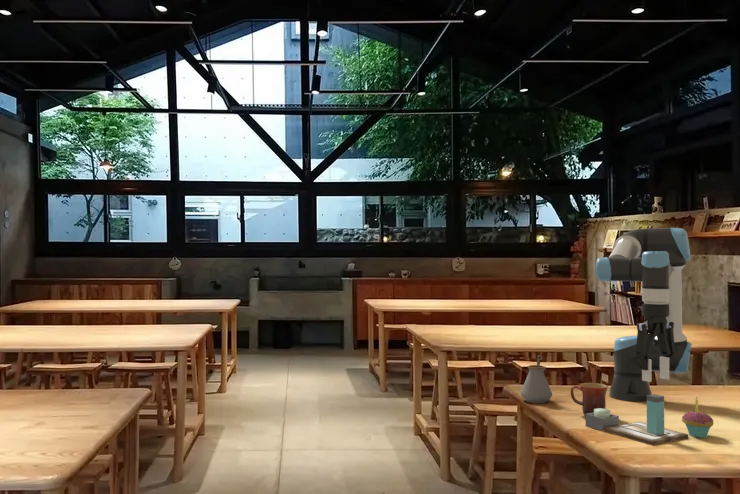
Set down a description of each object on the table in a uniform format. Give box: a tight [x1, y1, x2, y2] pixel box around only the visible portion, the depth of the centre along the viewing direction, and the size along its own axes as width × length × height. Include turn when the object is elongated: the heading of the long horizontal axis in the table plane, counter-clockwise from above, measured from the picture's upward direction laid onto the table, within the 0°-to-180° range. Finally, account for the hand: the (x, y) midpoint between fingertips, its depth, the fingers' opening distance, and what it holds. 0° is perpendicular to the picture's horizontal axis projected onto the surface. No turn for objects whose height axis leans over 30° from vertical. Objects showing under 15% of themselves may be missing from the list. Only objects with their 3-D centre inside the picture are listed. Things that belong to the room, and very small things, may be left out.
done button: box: [594, 408, 611, 418], centre depth 206 cm, size 5×5×4 cm
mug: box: [570, 382, 608, 417], centre depth 221 cm, size 12×9×10 cm
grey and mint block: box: [646, 393, 665, 435], centre depth 194 cm, size 3×3×11 cm
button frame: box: [585, 413, 620, 432], centre depth 206 cm, size 7×7×4 cm
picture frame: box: [604, 421, 689, 446], centre depth 197 cm, size 16×17×1 cm
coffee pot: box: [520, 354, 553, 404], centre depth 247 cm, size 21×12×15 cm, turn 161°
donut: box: [681, 396, 714, 439], centre depth 197 cm, size 9×8×12 cm
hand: (655, 379), depth 194 cm, fingers open, 7 cm apart
